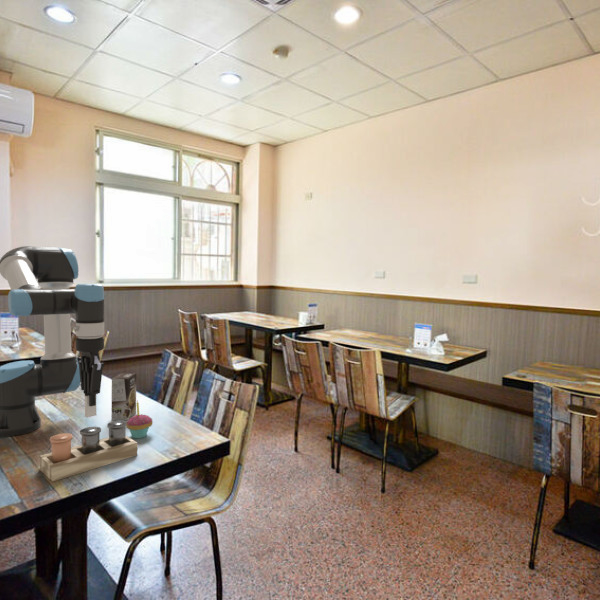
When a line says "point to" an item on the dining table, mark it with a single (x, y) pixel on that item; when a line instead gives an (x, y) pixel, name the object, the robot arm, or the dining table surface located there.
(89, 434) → the plug
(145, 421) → the cupcake
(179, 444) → the dining table surface
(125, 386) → the coffee box
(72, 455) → the wooden holder
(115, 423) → the plug
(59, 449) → the plug terracotta
